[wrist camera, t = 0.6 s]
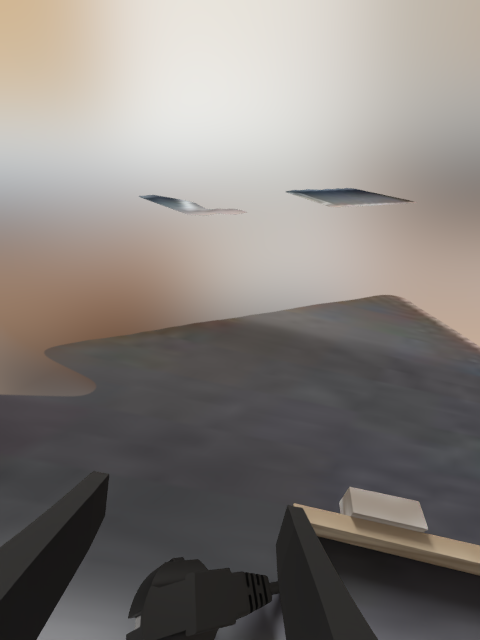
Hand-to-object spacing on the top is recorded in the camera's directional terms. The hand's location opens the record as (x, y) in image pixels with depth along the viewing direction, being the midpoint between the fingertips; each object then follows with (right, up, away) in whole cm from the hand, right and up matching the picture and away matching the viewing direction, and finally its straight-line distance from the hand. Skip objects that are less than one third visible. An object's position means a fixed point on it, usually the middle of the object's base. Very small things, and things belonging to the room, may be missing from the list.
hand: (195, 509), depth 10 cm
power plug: (0, -16, +10) cm, 19 cm away
